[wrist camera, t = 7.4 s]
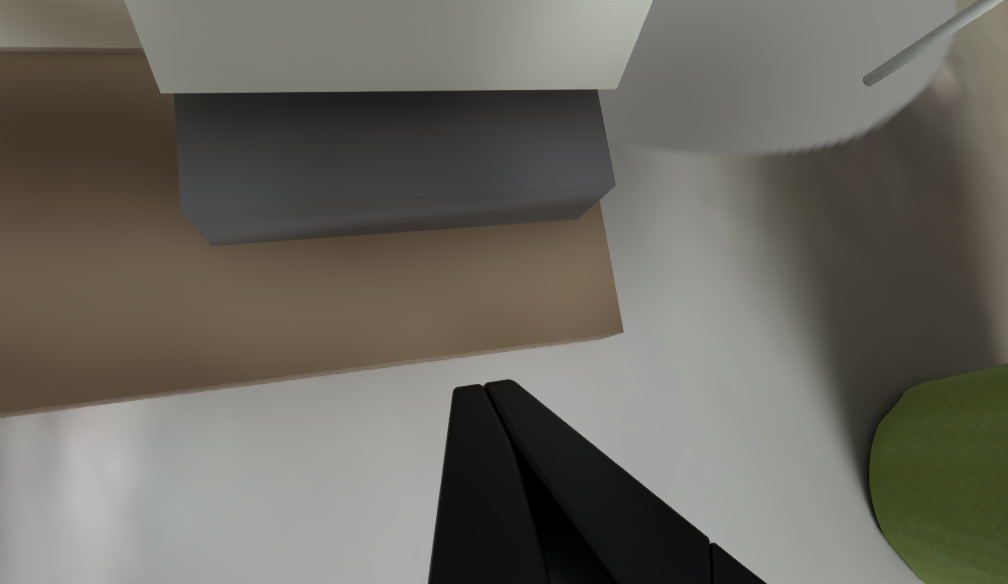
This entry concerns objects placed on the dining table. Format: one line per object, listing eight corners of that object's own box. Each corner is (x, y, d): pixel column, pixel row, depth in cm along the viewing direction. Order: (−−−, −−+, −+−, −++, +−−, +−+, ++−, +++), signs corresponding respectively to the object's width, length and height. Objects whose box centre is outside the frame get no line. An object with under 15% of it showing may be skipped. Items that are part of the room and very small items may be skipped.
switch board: (603, 338, 18) (670, 317, 14) (-912, 537, 11) (-1677, 610, 7) (542, 0, 20) (587, -101, 16) (-765, -43, 13) (-1283, -254, 9)
